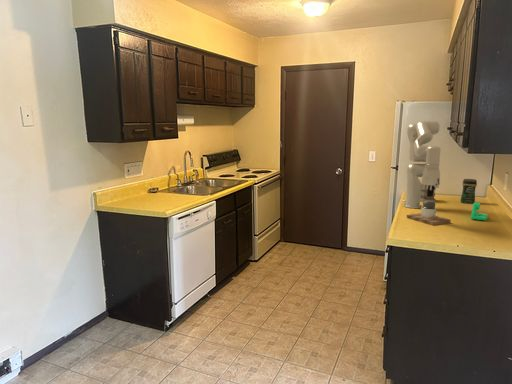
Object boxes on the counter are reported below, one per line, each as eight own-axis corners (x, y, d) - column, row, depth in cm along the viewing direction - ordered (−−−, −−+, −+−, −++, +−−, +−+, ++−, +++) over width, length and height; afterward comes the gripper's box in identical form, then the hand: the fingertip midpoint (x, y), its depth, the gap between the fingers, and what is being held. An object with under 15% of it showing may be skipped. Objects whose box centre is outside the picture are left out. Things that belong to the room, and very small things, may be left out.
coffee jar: (461, 203, 281) (463, 179, 278) (459, 201, 288) (462, 177, 285) (475, 204, 277) (478, 180, 274) (474, 202, 284) (476, 178, 281)
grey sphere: (419, 211, 231) (420, 200, 230) (428, 210, 234) (428, 200, 232) (428, 214, 225) (429, 202, 223) (437, 213, 227) (438, 202, 226)
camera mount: (484, 221, 226) (486, 205, 224) (470, 220, 231) (472, 204, 229) (487, 218, 236) (489, 202, 234) (473, 216, 240) (475, 201, 238)
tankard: (434, 199, 295) (436, 181, 292) (435, 202, 283) (437, 183, 280) (407, 198, 302) (409, 180, 299) (407, 200, 291) (409, 182, 288)
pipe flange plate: (406, 217, 236) (407, 205, 235) (423, 215, 242) (424, 203, 240) (432, 225, 218) (433, 212, 217) (450, 222, 224) (451, 210, 222)
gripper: (418, 165, 229) (415, 194, 232) (438, 168, 216) (435, 198, 219) (426, 165, 232) (424, 193, 235) (447, 167, 219) (444, 197, 222)
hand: (429, 196), depth 227 cm, fingers closed
